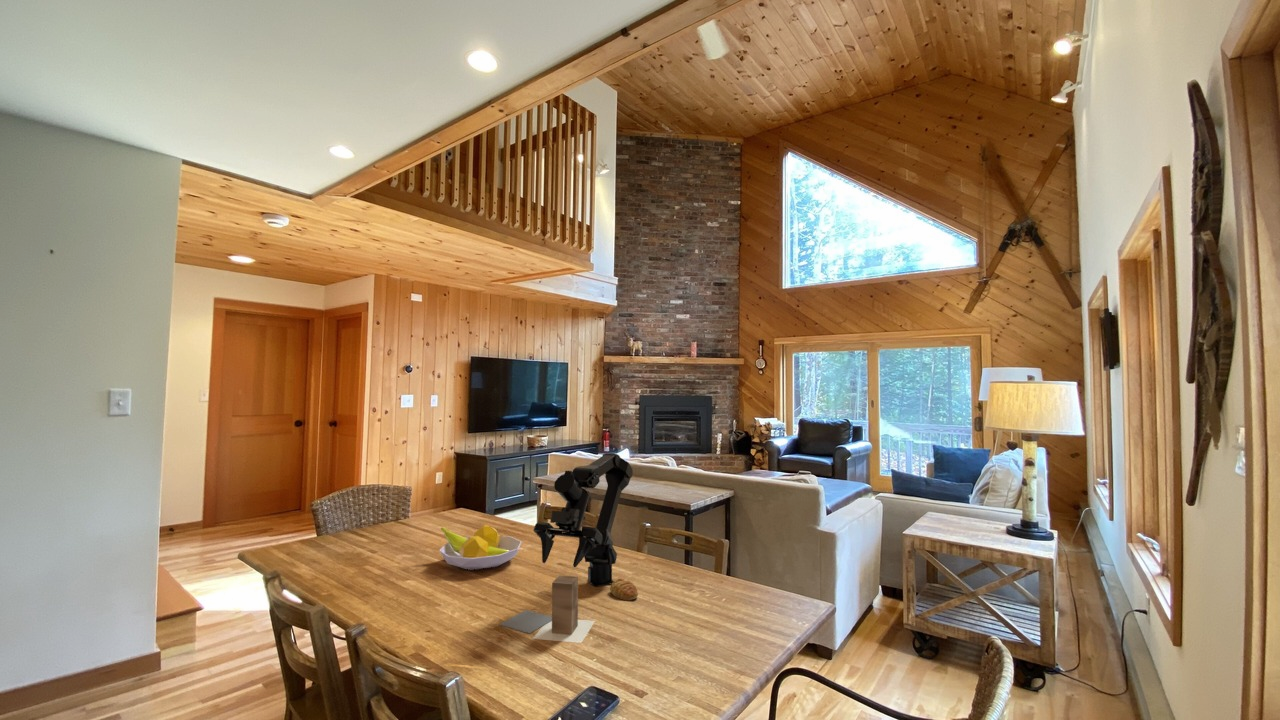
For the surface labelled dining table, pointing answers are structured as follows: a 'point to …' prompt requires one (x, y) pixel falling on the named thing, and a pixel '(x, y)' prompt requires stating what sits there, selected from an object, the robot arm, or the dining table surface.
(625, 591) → the pastry
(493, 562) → the fruit bowl
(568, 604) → the walnut block
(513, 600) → the dining table surface
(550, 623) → the tile
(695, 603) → the dining table surface
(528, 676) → the dining table surface
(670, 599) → the dining table surface
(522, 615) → the slate coaster
